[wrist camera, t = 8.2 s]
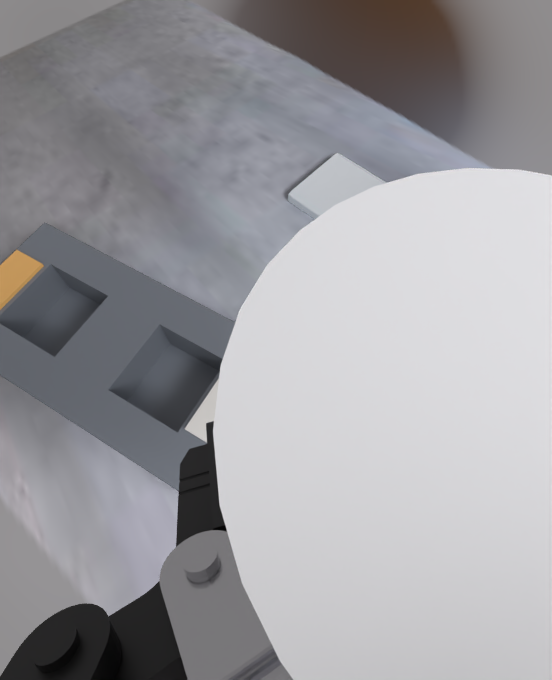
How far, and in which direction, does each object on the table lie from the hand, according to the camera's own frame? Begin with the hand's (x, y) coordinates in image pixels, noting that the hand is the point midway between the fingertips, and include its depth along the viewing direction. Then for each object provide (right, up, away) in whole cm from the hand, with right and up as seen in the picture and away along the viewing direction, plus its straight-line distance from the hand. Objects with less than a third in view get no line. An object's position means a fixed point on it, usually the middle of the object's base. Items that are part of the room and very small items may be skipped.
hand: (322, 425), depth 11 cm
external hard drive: (+7, +15, +32) cm, 36 cm away
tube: (+1, -5, +6) cm, 8 cm away
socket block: (-14, 0, +24) cm, 28 cm away
